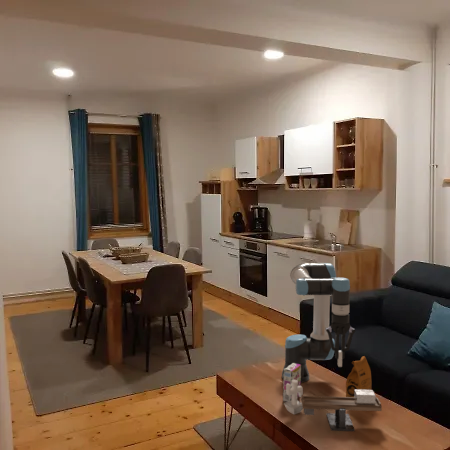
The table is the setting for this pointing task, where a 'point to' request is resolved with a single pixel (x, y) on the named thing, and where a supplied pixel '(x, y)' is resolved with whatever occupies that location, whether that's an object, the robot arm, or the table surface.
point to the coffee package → (358, 377)
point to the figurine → (294, 397)
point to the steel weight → (364, 397)
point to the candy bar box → (291, 378)
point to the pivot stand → (340, 421)
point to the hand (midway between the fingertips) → (339, 365)
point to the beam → (335, 404)
